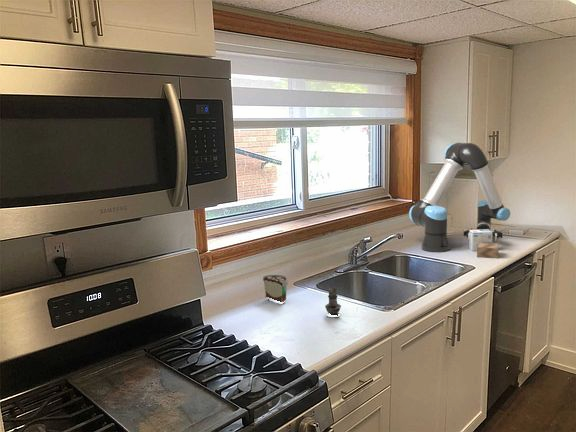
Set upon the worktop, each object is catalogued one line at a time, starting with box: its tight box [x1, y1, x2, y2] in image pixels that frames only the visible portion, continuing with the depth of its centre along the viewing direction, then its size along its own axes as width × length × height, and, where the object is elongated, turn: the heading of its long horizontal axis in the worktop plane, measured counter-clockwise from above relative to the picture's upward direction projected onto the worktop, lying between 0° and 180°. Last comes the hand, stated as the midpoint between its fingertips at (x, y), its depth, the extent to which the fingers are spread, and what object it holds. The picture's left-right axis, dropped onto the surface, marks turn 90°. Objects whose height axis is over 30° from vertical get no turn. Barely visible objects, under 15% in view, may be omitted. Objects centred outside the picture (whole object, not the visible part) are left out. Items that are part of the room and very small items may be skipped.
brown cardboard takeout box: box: [476, 243, 499, 259], centre depth 243 cm, size 10×10×5 cm
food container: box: [262, 274, 289, 302], centre depth 191 cm, size 12×6×10 cm, turn 44°
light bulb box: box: [468, 229, 493, 252], centre depth 254 cm, size 11×7×11 cm, turn 84°
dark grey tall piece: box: [324, 284, 342, 316], centre depth 173 cm, size 6×6×12 cm
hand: (482, 237), depth 255 cm, fingers open, 13 cm apart
